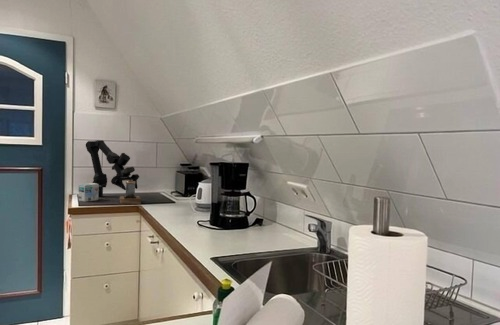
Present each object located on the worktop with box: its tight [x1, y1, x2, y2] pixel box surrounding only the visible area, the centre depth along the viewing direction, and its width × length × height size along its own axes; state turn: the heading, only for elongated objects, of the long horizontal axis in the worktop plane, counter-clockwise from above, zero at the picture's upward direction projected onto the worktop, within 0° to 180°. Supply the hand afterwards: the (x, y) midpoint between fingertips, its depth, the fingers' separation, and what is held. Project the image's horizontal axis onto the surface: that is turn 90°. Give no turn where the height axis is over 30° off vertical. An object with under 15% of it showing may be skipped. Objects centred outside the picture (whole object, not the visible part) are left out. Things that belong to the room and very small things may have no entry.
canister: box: [125, 180, 136, 199], centre depth 246 cm, size 6×6×13 cm
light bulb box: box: [78, 182, 99, 202], centre depth 248 cm, size 11×7×11 cm, turn 148°
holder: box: [119, 195, 142, 205], centre depth 247 cm, size 12×12×3 cm
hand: (131, 189), depth 246 cm, fingers open, 9 cm apart
